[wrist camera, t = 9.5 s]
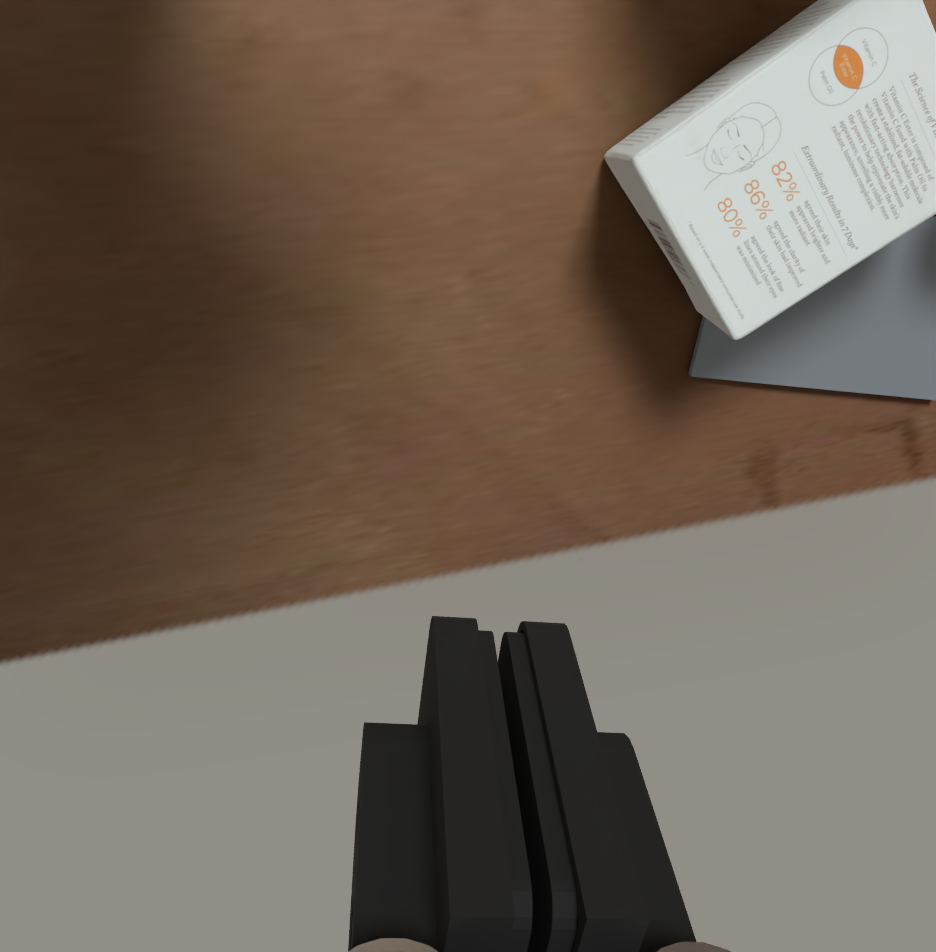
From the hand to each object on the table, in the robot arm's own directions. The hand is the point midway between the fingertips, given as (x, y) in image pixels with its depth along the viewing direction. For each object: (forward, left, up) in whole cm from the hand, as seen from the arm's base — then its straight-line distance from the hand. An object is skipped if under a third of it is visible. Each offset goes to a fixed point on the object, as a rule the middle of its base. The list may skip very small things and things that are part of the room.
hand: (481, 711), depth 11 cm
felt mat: (0, +18, -28) cm, 33 cm away
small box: (-2, +9, -25) cm, 26 cm away
